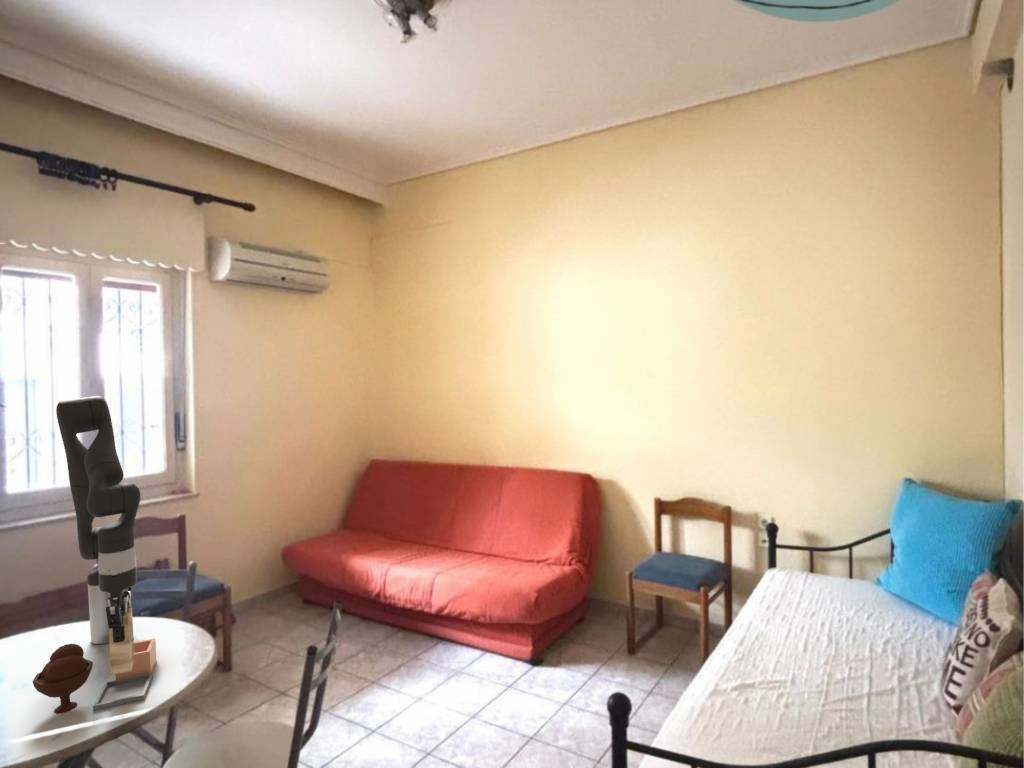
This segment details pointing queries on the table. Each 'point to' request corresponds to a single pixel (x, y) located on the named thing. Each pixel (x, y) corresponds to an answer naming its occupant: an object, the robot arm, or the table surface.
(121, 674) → the orange open box
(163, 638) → the table surface
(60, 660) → the ice cream bowl
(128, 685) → the grey square tray
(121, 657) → the birch peg
